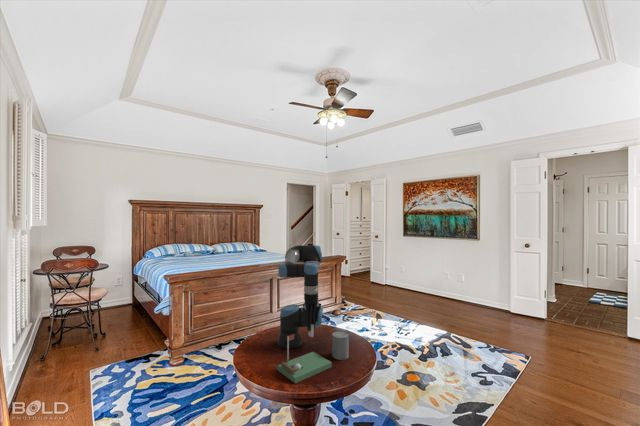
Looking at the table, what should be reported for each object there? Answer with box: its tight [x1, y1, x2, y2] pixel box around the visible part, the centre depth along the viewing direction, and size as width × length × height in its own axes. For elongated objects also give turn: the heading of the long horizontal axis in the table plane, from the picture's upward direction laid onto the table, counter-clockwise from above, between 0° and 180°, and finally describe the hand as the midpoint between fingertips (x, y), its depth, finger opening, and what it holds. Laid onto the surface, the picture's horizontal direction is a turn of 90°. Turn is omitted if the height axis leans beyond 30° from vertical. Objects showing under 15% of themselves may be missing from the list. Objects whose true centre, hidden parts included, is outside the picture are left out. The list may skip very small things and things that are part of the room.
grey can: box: [331, 330, 350, 361], centre depth 175 cm, size 10×10×12 cm
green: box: [276, 334, 333, 384], centre depth 161 cm, size 16×24×16 cm, turn 130°
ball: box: [294, 363, 301, 371], centre depth 158 cm, size 4×4×4 cm
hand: (310, 336), depth 164 cm, fingers closed
